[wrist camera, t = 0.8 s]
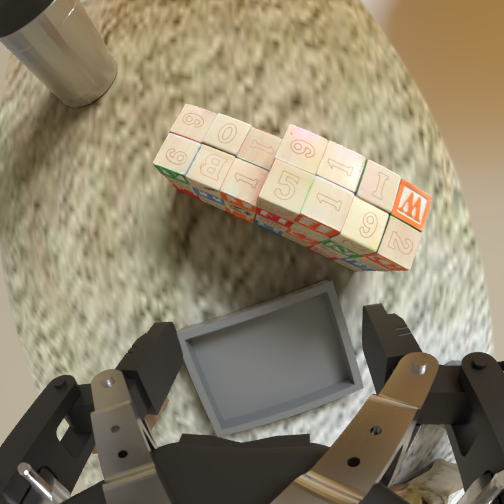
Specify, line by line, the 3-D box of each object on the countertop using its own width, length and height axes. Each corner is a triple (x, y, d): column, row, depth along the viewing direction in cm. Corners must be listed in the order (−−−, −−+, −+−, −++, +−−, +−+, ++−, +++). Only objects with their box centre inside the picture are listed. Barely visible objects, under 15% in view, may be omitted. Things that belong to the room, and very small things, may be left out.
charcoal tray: (180, 328, 31) (174, 334, 28) (324, 279, 32) (332, 280, 29) (219, 424, 31) (217, 437, 28) (354, 378, 31) (363, 387, 28)
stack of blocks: (175, 191, 32) (138, 149, 20) (200, 142, 33) (179, 81, 20) (355, 272, 32) (412, 272, 20) (375, 220, 33) (435, 196, 20)
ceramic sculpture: (483, 497, 22) (393, 554, 22) (458, 470, 30) (378, 521, 31) (476, 462, 22) (371, 530, 22) (446, 434, 31) (356, 491, 31)
